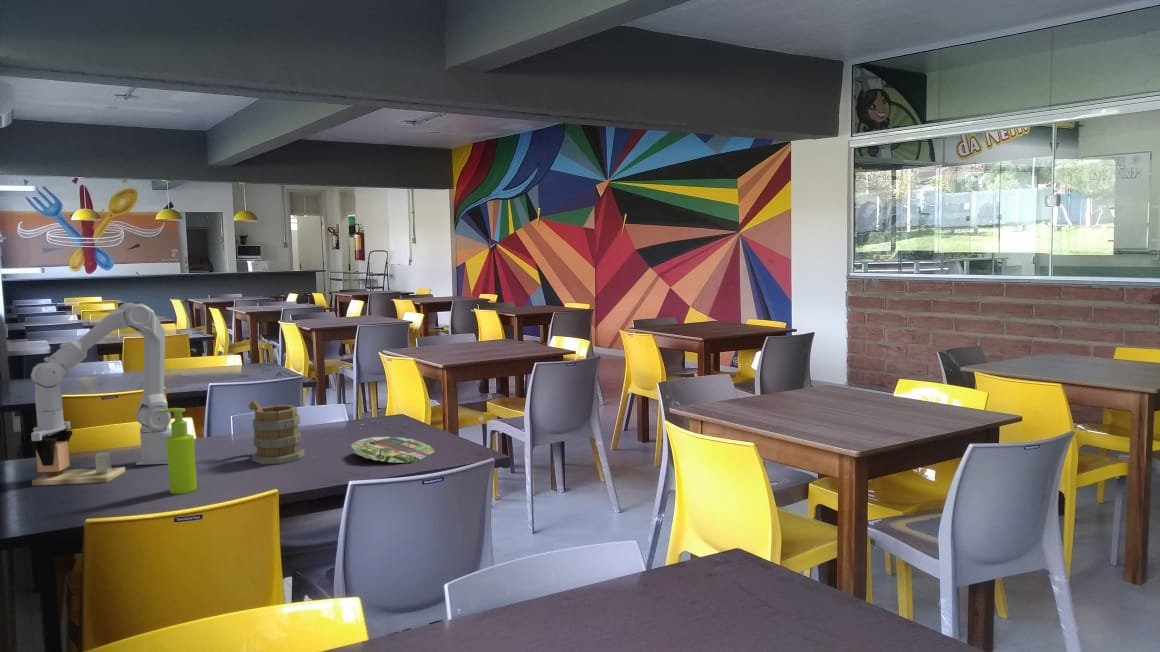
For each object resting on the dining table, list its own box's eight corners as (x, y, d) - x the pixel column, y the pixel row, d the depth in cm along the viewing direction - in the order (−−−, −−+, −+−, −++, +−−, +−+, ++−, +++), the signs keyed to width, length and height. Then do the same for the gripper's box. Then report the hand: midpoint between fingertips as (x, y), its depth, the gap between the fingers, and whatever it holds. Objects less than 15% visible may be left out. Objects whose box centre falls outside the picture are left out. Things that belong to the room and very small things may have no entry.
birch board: (125, 471, 219) (125, 467, 219) (107, 482, 209) (107, 477, 209) (53, 474, 218) (53, 470, 218) (32, 485, 208) (31, 480, 208)
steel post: (111, 471, 215) (110, 452, 215) (107, 473, 213) (105, 454, 212) (101, 471, 215) (99, 452, 215) (96, 474, 213) (94, 455, 212)
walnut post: (63, 473, 214) (61, 454, 214) (57, 476, 212) (56, 456, 211) (52, 473, 214) (50, 454, 214) (47, 476, 211) (45, 457, 211)
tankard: (311, 457, 230) (308, 403, 229) (267, 466, 221) (264, 411, 219) (276, 447, 244) (273, 396, 242) (234, 455, 234) (230, 403, 233)
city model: (414, 477, 216) (416, 454, 215) (332, 463, 220) (333, 441, 220) (448, 454, 240) (450, 434, 240) (373, 443, 245) (375, 423, 244)
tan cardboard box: (70, 465, 215) (67, 440, 215) (59, 471, 210) (57, 445, 210) (48, 466, 215) (46, 441, 214) (37, 472, 210) (35, 446, 209)
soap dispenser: (171, 487, 203) (165, 406, 201) (200, 486, 204) (195, 405, 202) (161, 494, 197) (155, 411, 195) (191, 493, 198) (185, 410, 196)
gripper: (48, 405, 218) (52, 456, 219) (16, 416, 204) (21, 470, 205) (76, 404, 219) (80, 454, 220) (46, 415, 204) (51, 469, 206)
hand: (54, 462), depth 213 cm, fingers closed on tan cardboard box, 5 cm apart
